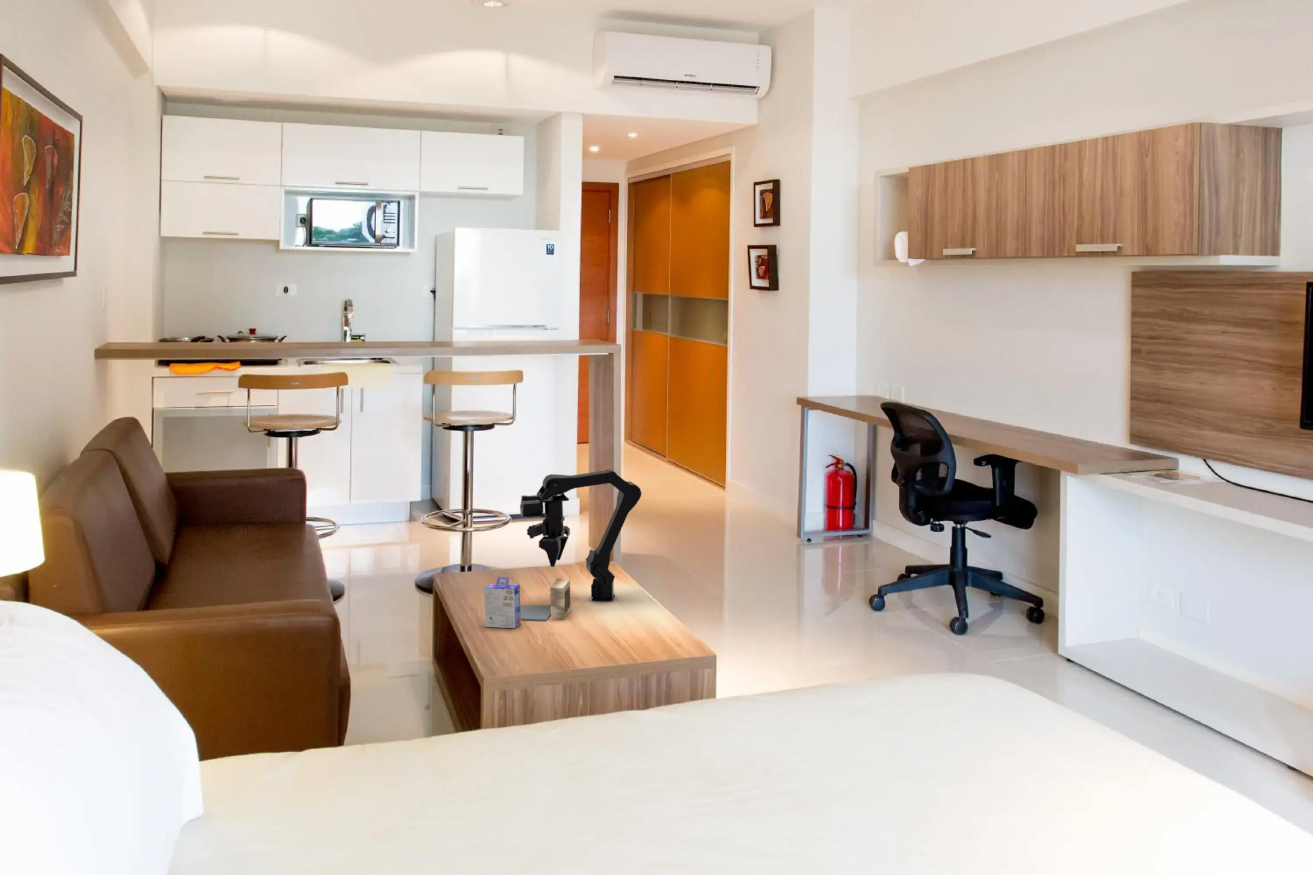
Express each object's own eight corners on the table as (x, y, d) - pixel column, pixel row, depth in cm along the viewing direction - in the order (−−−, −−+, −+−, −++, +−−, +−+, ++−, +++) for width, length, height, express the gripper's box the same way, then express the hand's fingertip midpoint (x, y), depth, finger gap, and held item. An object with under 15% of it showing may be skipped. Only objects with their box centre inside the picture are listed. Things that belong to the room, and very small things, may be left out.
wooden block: (571, 610, 364) (570, 578, 362) (564, 619, 354) (564, 587, 352) (558, 609, 364) (557, 578, 363) (551, 619, 354) (550, 587, 353)
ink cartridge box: (521, 623, 351) (520, 576, 349) (516, 629, 346) (514, 581, 344) (490, 621, 353) (489, 575, 351) (484, 627, 348) (482, 580, 345)
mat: (556, 607, 366) (556, 605, 366) (546, 621, 353) (546, 619, 353) (522, 606, 368) (522, 604, 368) (510, 620, 354) (510, 618, 354)
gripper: (535, 508, 377) (537, 555, 379) (521, 521, 359) (523, 570, 361) (569, 508, 376) (570, 555, 378) (557, 521, 357) (558, 571, 360)
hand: (555, 563), depth 369 cm, fingers open, 8 cm apart
